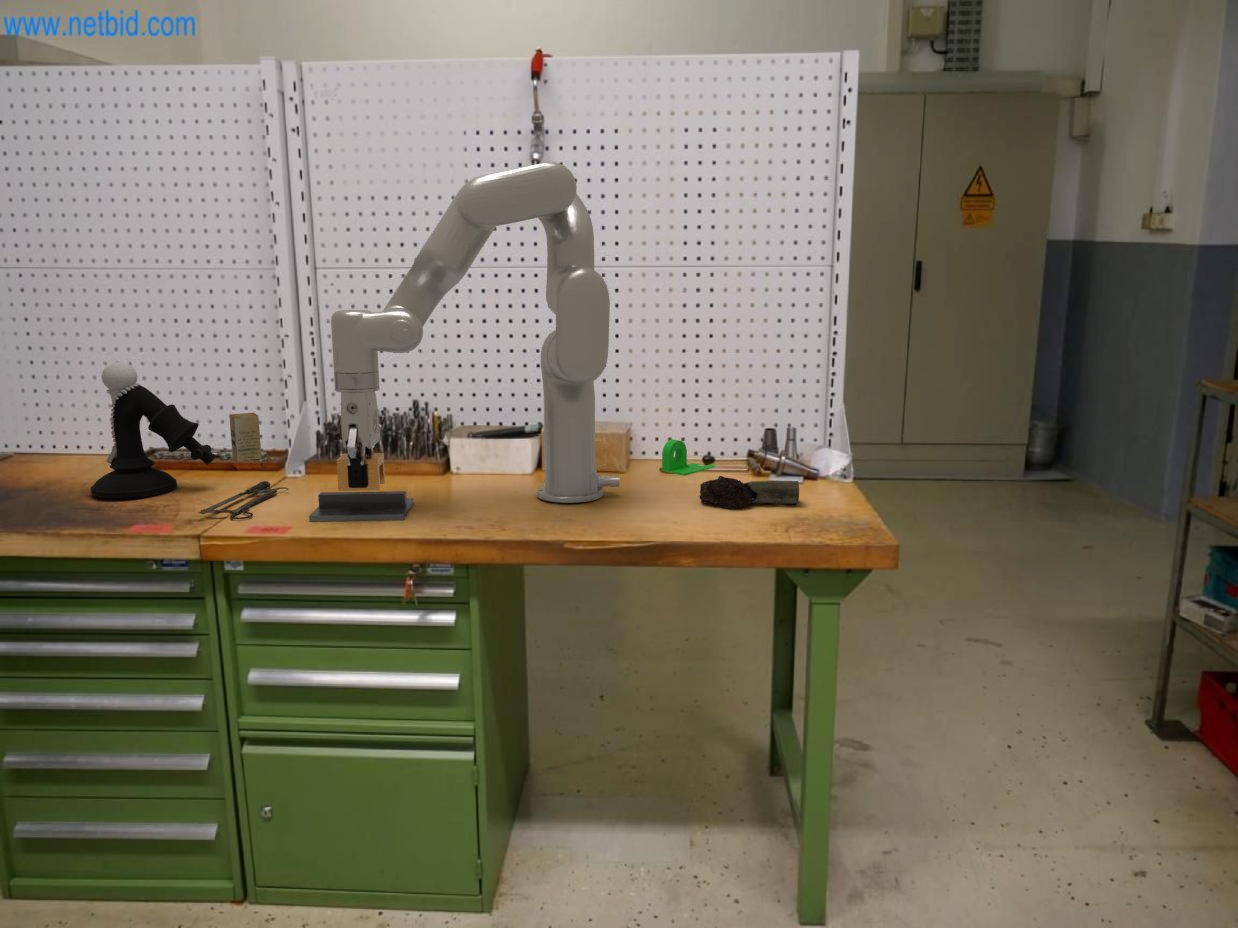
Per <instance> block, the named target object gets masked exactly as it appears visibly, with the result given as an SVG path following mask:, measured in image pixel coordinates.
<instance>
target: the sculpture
mask: <svg viewBox="0 0 1238 928" xmlns="http://www.w3.org/2000/svg"><path fill="white" fill-rule="evenodd" d="M101 382H102V384H103V385H104V386H105V387H106V388H107V390H106V392H107V393H108V394H109V396H110V399H111V405H110V406H111V410H110V412H111V413H110V416H111V417H109V418H110V425H111V426H110V430H111V432H110V433H111V438H112V439H113V440H112V442H113V446H112V448H111V452H110V453H109V455H108V457H107V458H106V463H107V464H110V465H109V468H110V469H111V470H112V471H109V472H108V473H106V474H104V475H103V476H101V477H100V478H98V479H97V480H96V481H95V482H94V484H93V485H91V487H90V494H91V495H92V496H94V497H96V498H101V499H133V498H141V497H150V496H156V495H158V494H159V495H160V494H163V493H167V492H170V491H173V490H175V489H176V488H177V487H178V482H177V481H178V480H177V479H176V478H175V477H174V476H172V475H171V474H169V473H168V472H166V471H164V470H161V469H160V468H159V469H158V468H156V467H153V466H154V465H155V464H156V463H155V461H153V460H152V459H150V458H149V457H148V456H147V455H146V452H145V449H144V446H143V440H142V434H141V420H142V418H143V416H144V417H145V418H146V420H147V421H148V422H149V424H148V430H149V431H150V432H152V433H154V434H156V435H158V436H160V437H161V438H162V439H163V440H164V441H165V443H166V445H167V448H168V452H169V453H174V452H177V450H179V449H181V448H183V447H184V448H185V449H187V450H188V451H189V452H190V458H191V459H192V460H196V461H197V460H201V461H202V462H203V463H204V464H205V465H206V466H208V465H210V464H211V463H212V462H213V461H214V460H215V459H216V457H217V455H216V454H215V453H213V452H212V447H211V446H210V444H204V445H203V444H202V443H201V442H199V441H198V440H197V439H195V437H194V436H195V434H196V432H197V430H198V428H199V425H200V424H199V422H193V421H190V420H189V419H187V418H185V417H183V415H181V413H180V412H179V410H178V409H177V407H176V405H175V404H169V405H167V404H166V403H165V402H164V401H163V400H161V399H160V398H159V397H158V396H157V395H156V394H155V393H153V392H152V391H150V390H149V389H148V388H146V387H144V386H143V385H141V384H140V383H137V382H138V373H137V371H136V369H135V368H134V367H133V366H132V365H131V364H128V363H126V362H122V361H117V362H116V361H115V362H113V363H109V364H108V365H106V367H105V368H104V369H103V370H102V372H101Z"/></svg>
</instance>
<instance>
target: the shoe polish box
mask: <svg viewBox="0 0 1238 928" xmlns="http://www.w3.org/2000/svg"><path fill="white" fill-rule="evenodd" d="M259 417H260V416H259V414H256V413H255V412H246V413H245V412H243V413H242V412H241V413H231V414H230V413H229V414H228V418H229V428H230V429H229V430H230V441H231V442H230V443H231V453H232V458H233V457H234V458H235V459H236V460H237V461H244V460H250V459H263V458H262V447H261V433H260V418H259Z"/></svg>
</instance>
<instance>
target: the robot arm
mask: <svg viewBox="0 0 1238 928" xmlns="http://www.w3.org/2000/svg"><path fill="white" fill-rule="evenodd" d="M577 188H578V187H577V180H576V178H575V176H574V174H573V172H572V171H571V170H570V169H569V168H568V167H567V166H565V165H563V164H561V163H559V162H556V161H545V162H540V163H536V164H532V165H527V166H523V167H518V168H514V169H510V170H503V171H500V172H496V173H488V174H484V175H479V176H477V177H474V178H472V179H470V180H469V181H467V182H465V183H464V184H463V186H462V187H460V189H459V190H458V192H457V194H456V195H455V197H454V198H453V199H452V201H451V203H450V204H449V205H448V207H447V209H446V210H445V211H444V213H443V215H442V216H441V218H440V219H439V221H438V223H437V224H436V226H435V227H434V229H433V231H432V232H431V234H430V235H429V237H428V238H427V240H426V241H425V242H424V244H423V246H422V248H421V249H420V251H419V252H418V254H417V255H416V257H415V259H414V261H413V263H412V265H411V267H410V268H409V270H408V271H407V273H406V275H405V276H404V278H403V279H402V281H401V282H400V284H399V285H398V287H397V288H396V289H395V291H394V293H393V294H392V296H391V298H390V299H389V301H388V302H387V303H386V306H385V307H384V309H383V310H382V311H376V312H375V311H374V312H373V311H371V310H365V309H342V310H337V311H336V310H335V311H334V313H333V312H332V316H331V317H330V318H331V319H330V327H331V344H332V346H331V347H332V362H333V365H332V366H333V381H334V383H333V385H334V392H336V393H340V422H341V423H340V425H341V426H340V427H341V438H342V439H341V440H342V446H343V448H344V449H346V450H347V453H348V460H347V464H348V465H347V468H348V486H349V488H366V487H367V486H368V480H367V465H365V453H374V449H373V447H374V446H375V445H376V444H378V442H379V441H380V440H381V432H380V431H381V430H380V423H379V422H380V421H379V411H378V401H377V394H376V393H377V391H380V373H379V369H380V368H379V352H387V353H393V354H395V353H396V354H405V353H409V352H412V351H413V350H415V349H417V347H419V346H420V344H421V342H422V340H423V336H424V328H423V327H424V325H426V323H427V321H428V319H429V317H430V316H431V315H432V314H433V312H434V310H435V309H436V307H437V306H438V304H440V302H441V300H442V299H443V298H444V297H445V296H446V295H447V294H448V293H449V292H450V291H451V290H452V289H453V288H454V287H455V286H457V285H458V284H459V283H460V282H461V280H462V279H463V278H464V276H465V275H466V274H467V273H468V271H469V269H470V267H471V266H472V264H473V263H474V261H475V260H476V258H477V257H478V255H479V253H480V252H481V251H482V249H483V247H484V246H485V244H486V242H487V241H488V240H489V238H490V237H491V235H492V233H493V232H494V230H495V229H496V228H497V227H499V226H504V225H509V224H514V223H520V222H524V221H529V220H532V219H538V220H539V221H540V223H541V224H542V226H543V228H544V232H545V236H546V252H547V253H546V254H547V256H546V257H547V258H546V260H547V261H546V262H547V263H546V286H545V299H546V303H547V306H548V308H549V309H550V311H551V312H552V313H553V314H554V315H555V329H554V330H553V331H552V332H550V333H549V334H548V335H547V337H546V338H545V340H543V341H544V342H543V344H542V347H541V350H540V369H541V377H542V379H541V380H542V388H543V389H542V390H543V434H544V435H543V441H544V442H543V443H544V444H543V446H544V447H543V448H544V449H543V450H544V451H543V452H544V454H543V455H544V457H543V459H544V485H543V486H540V487H539V488H537V490H536V496H537V498H538V499H540V500H541V501H546V502H552V503H561V504H562V503H563V504H565V503H566V504H577V503H586V502H591V501H595V500H598V499H601V498H603V496H604V489H603V488H604V487H605V488H606V487H609V488H620V484H621V483H620V479H621V478H620V476H613V475H600V474H598V471H597V469H596V395H595V394H596V393H595V383H594V381H596V380H597V379H599V377H601V376H602V374H603V372H604V370H605V369H606V366H607V362H608V356H609V344H610V343H609V342H610V338H609V337H610V311H611V309H610V306H611V305H610V304H611V303H610V301H611V300H610V293H609V288H608V285H607V282H606V281H605V279H604V278H603V276H602V275H601V274H600V273H598V271H596V270H595V235H594V225H593V223H592V218H591V216H590V213H589V211H588V209H587V207H586V205H585V203H584V202H583V201H582V199H581V198H580V196H579V195H578V193H577ZM359 453H361V457H360V454H359Z"/></svg>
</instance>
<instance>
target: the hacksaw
mask: <svg viewBox="0 0 1238 928" xmlns="http://www.w3.org/2000/svg"><path fill="white" fill-rule="evenodd" d="M282 489H283V490H282ZM285 489H286V490H285ZM278 490H280V491H279V492H281V493H282V492H284V490H285V492H286V491H289V488H288V487H281V486H280V487H276V488H275V487H274V488H271V483H270V482H269V481H268V480H267V481H266V480H263V481H260V482H259V483H257V484H256V485H253V486H251V487H249V488H247V489H245V490H244V492H239V493H237V494H235V495H233V496H231V497H228V498H226V499H224V500H223V501H220V502H217V503H216V504H214V505H212V506H209V507H207V508H203V509H201V510H200V511H198V512H197V513H198V514H201V515H205V514H223V513H224V514H230V516H229V518H230V519H232V520H248V519H250V518H252V517H253V516H254V513H253V512H250V511H248V510H249V509H251V506H253V505H255V504H256V503H259V502H260V501H262V500H265V499H267V498H268V497H270V496H272V495H274V494H277V492H278ZM281 490H282V491H281ZM251 494H261V495H258V496H256V497H255V498H253V499H251V500H249V501H247V502H246V503H244V504H243V505H240V506H239V507H238V508H236V509H218V508H220V507H222V506H224V505H226V504H228V503H231V502H233V501H235V500H237V499H239V498H242V497H243V496H245V495H251ZM241 512H242V513H244V514H247V516H240V517H238V516H237V515H239V514H241ZM235 516H236V517H235Z"/></svg>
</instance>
